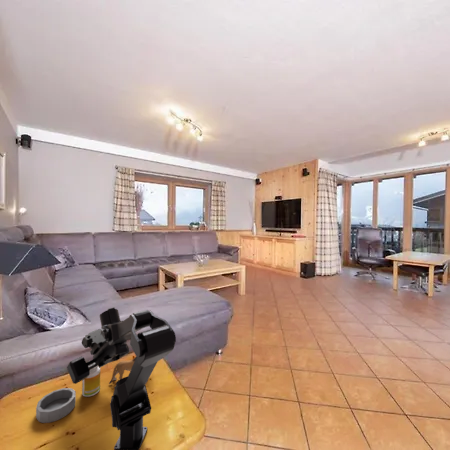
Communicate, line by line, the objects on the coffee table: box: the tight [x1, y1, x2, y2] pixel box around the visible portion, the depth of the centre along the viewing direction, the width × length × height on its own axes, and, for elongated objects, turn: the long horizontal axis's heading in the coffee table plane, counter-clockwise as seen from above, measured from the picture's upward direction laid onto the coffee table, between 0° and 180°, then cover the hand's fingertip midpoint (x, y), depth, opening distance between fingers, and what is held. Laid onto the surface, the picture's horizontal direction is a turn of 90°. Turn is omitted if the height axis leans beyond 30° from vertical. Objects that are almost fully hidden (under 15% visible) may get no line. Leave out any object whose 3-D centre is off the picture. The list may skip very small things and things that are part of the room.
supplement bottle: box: [81, 363, 101, 398], centre depth 80 cm, size 5×5×10 cm
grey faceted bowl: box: [35, 387, 77, 424], centre depth 72 cm, size 10×10×3 cm
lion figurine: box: [108, 356, 136, 385], centre depth 87 cm, size 15×5×9 cm, turn 130°
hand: (90, 369), depth 80 cm, fingers open, 9 cm apart
